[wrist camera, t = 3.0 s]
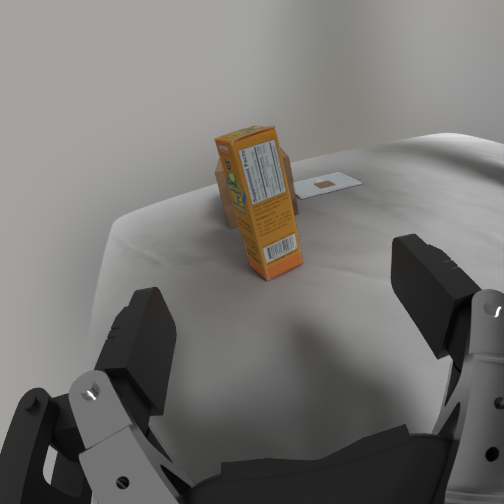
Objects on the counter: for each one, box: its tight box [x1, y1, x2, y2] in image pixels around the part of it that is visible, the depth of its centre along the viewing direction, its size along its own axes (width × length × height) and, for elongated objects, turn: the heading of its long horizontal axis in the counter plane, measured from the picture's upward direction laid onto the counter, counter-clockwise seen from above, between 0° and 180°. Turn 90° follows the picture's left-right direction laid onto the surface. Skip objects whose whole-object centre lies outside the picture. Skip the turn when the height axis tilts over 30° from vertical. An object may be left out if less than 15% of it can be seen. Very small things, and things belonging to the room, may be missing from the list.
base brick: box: [215, 148, 298, 229], centre depth 32 cm, size 7×7×6 cm
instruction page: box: [293, 172, 362, 199], centre depth 36 cm, size 8×6×1 cm
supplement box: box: [215, 126, 303, 281], centre depth 20 cm, size 3×3×10 cm
